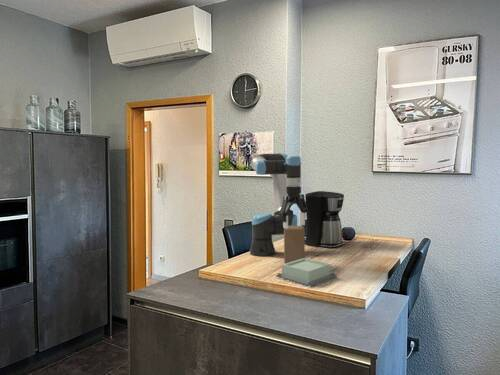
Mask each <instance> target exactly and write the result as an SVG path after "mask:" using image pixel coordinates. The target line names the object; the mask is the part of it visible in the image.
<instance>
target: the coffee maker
mask: <svg viewBox="0 0 500 375" xmlns="http://www.w3.org/2000/svg"><path fill="white" fill-rule="evenodd" d="M304 199H305V202H306V205H307V208H308V211H307V213H305V217H306V227H305V228H306V230H305V245H307V246H311V247H317V248H326V249H334V248H339V247H341V246H343V245H344V244H345V241H343V228H342V222H341V221H342V220H341V218H340V216H339V213H340V212H341V211H342V208H343V205H344V199H345V195H344V194H343V193H339V192H335V191H324V190H316V191H312V192H308V193H306V194H304Z"/></svg>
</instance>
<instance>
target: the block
mask: <svg viewBox="0 0 500 375" xmlns="http://www.w3.org/2000/svg"><path fill="white" fill-rule="evenodd" d="M305 238H306V235H305V225H297V226H288V229H286V228H285V229H284V235H283V256H284V258H283V259H284V261H283V264H286V263H289V262H293V261H296V260H299V259H302V258H305V259H306V257H305V256H306V253H305V251H306V250H305V248H306V247H305V245H306V244H305Z"/></svg>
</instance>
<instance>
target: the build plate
mask: <svg viewBox="0 0 500 375" xmlns="http://www.w3.org/2000/svg"><path fill="white" fill-rule="evenodd" d="M276 277H279V278H283V279H286V280H289V281H288V282H290V281H292V282H291V283H293V282H295V283H294V284H297V283H299V284H298V285H300V284H302V285H301V286H303V285H306V286H305V287H307V286H312V287H314V286H317V285H319V284H318V283H320V284H322V283H325V282H326V281H329V280H332V279H335V278H337V274H336V273H335V272H334V271H333V272H331V264H330V263H327V262H323V261H318V260H313V259H308V258H306V257H305V258H302V259H299V260H296V261H293V262H289V263H286V264H284V263H282V264H281V273H280V272H278V273H277V274H276V275H275V278H276ZM279 278H278V279H279ZM283 279H282V280H283ZM286 280H285V281H286ZM324 281H325V282H324ZM321 282H322V283H321ZM316 284H317V285H316ZM313 285H314V286H313Z"/></svg>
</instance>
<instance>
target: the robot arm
mask: <svg viewBox="0 0 500 375" xmlns="http://www.w3.org/2000/svg"><path fill="white" fill-rule="evenodd" d="M301 160H302V159H301V157H300V156H299V155H298V156H297V155H296V156H295V155H294V156H288V155H287V153H281V152H278V153H261V154H257V155H255V156H253V157H252V158H251V160H250V167H251V169H252V170H253V171H255V174H256V175H261V176H265V175H269V176H270V177H271V178H272V186H273V196H274V203H275V211H274V212H273V215H272V213H271V212H265V213H258V214H255V215H253V217H252V218H251V226H252V228H251V232H252V240H251V244H250V248H249V254H250V255H252V256H257V257H267V256H268V257H269V256H272V255H275V254H276V248H275V245H274V242H273V236H284V229H285V228H286V229H288V226H298V216H297V214H294V211H293V210H292V209H291V208H292V206H293V205H297V207H298V209H299V223H300V225H299V226H305V225H306V213H307V211H308V208H307V205H306V198H305V194H301V193H302V186H301V184H302V177H301V176H302V175H301V174H302V172H301V171H302V169H301V168H302V161H301Z"/></svg>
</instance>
